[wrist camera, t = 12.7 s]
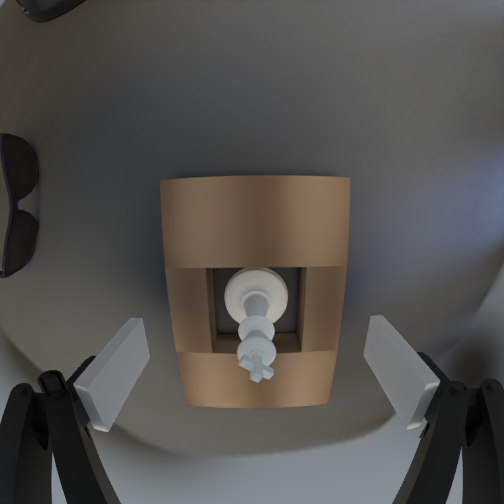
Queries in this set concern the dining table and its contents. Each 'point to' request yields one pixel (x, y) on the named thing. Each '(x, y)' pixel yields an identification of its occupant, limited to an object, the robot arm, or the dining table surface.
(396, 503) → the robot arm
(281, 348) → the socket plate
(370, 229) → the dining table surface
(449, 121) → the dining table surface
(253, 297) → the chess piece
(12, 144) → the sunglasses
